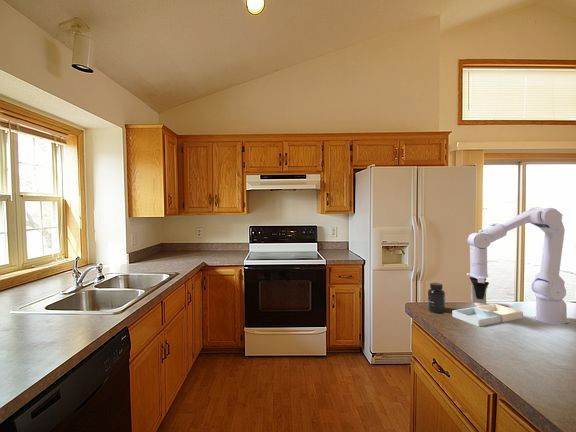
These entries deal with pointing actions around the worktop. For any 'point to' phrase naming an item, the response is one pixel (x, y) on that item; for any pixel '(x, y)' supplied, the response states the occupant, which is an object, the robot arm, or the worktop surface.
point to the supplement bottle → (436, 298)
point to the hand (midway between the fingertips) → (478, 297)
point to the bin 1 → (476, 316)
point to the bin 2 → (502, 312)
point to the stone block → (473, 296)
